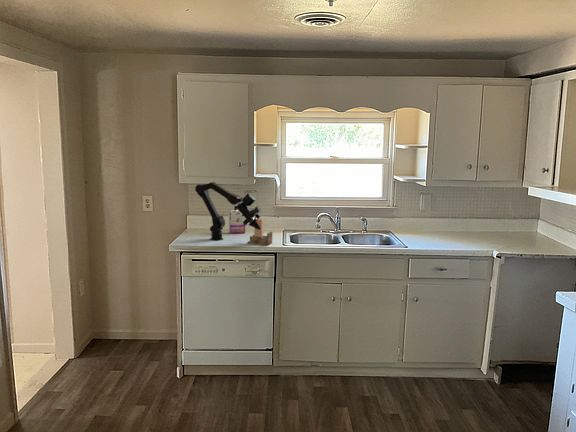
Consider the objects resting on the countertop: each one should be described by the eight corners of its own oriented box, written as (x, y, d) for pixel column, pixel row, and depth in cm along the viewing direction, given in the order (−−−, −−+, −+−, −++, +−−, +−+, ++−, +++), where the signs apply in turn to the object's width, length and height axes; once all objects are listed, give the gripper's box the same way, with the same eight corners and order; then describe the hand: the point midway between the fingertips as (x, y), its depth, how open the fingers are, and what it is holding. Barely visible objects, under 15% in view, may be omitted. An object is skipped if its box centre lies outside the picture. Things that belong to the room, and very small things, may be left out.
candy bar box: (243, 232, 345) (243, 209, 343) (245, 233, 341) (245, 210, 338) (228, 232, 341) (228, 210, 338) (230, 234, 336) (230, 211, 334)
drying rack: (247, 243, 307) (247, 232, 306) (252, 241, 314) (252, 230, 313) (268, 245, 303) (268, 233, 302) (272, 242, 310) (272, 231, 309)
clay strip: (254, 238, 308) (254, 218, 306) (255, 238, 310) (256, 218, 308) (261, 239, 306) (262, 219, 305) (262, 238, 309) (263, 219, 307)
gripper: (248, 204, 297) (264, 223, 296) (258, 201, 315) (273, 218, 313) (236, 216, 301) (252, 234, 299) (247, 212, 318) (262, 229, 317)
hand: (260, 229), depth 307 cm, fingers closed on clay strip, 2 cm apart
